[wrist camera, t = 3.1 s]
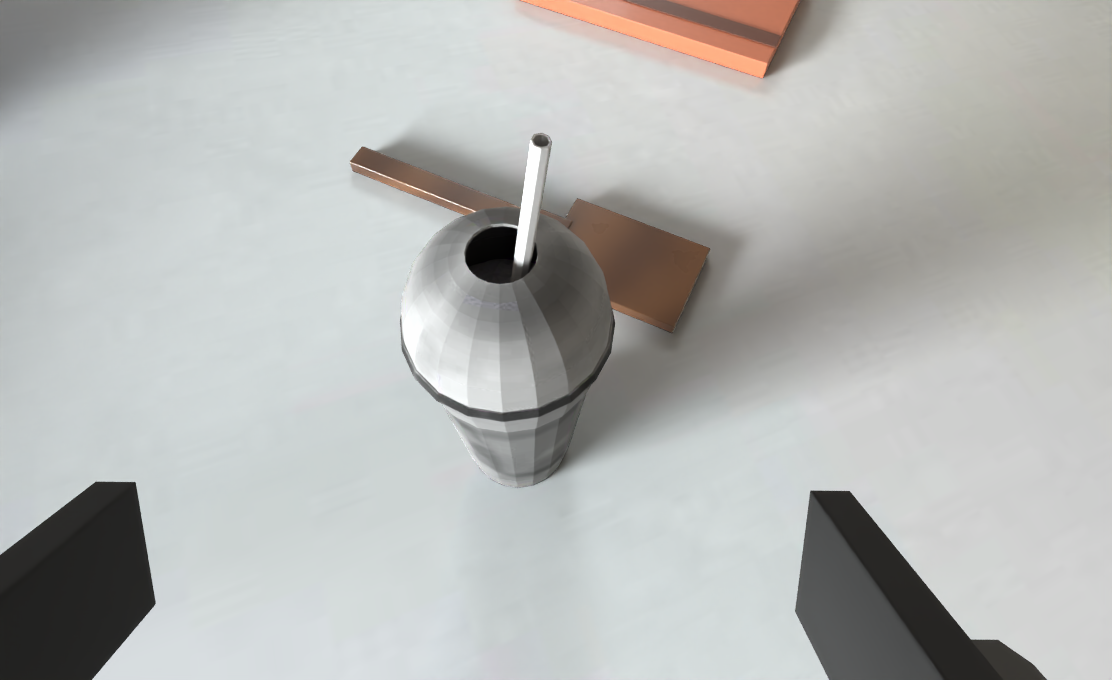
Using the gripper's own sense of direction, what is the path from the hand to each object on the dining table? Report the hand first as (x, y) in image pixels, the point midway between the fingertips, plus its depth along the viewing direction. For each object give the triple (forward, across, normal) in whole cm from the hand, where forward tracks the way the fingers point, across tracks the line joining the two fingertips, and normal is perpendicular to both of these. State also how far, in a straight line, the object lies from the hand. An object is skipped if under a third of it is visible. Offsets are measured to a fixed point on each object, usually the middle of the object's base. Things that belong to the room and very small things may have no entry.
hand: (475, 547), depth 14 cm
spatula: (+28, -1, +3) cm, 29 cm away
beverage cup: (+19, 0, -7) cm, 20 cm away
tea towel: (+43, +9, +17) cm, 47 cm away
